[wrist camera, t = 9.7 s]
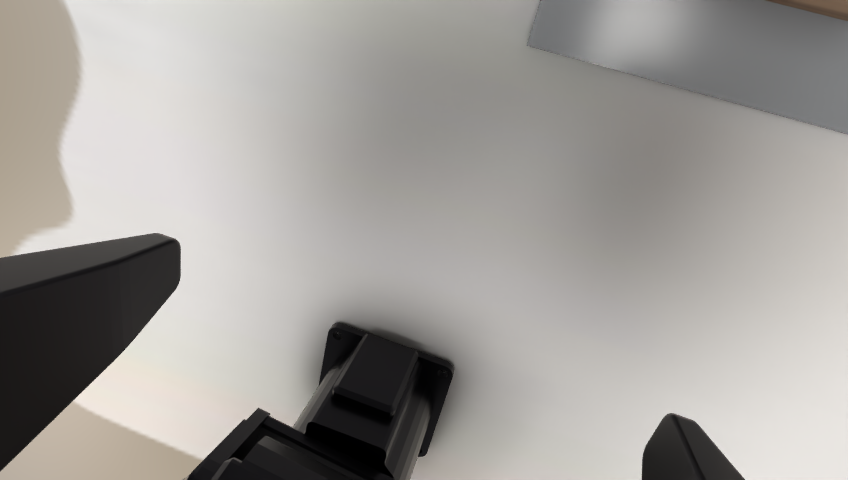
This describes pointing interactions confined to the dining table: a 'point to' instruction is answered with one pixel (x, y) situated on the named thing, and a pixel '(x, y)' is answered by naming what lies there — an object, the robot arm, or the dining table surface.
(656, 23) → the plate
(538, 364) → the dining table surface
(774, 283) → the dining table surface
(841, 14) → the walnut cube
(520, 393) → the dining table surface
